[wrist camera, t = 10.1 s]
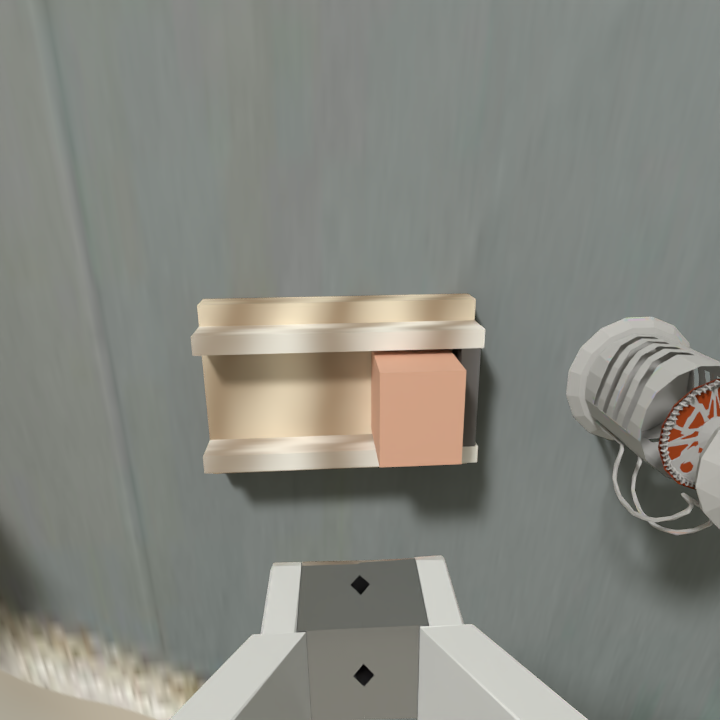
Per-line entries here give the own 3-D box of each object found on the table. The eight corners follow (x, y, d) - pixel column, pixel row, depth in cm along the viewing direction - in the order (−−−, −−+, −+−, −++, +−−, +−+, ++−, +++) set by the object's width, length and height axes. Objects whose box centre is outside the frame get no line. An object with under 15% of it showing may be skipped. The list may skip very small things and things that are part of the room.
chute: (467, 293, 39) (486, 307, 34) (459, 450, 42) (475, 480, 38) (203, 299, 37) (188, 313, 33) (218, 460, 41) (206, 492, 37)
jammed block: (445, 344, 37) (466, 370, 32) (442, 426, 39) (461, 464, 34) (371, 346, 37) (380, 373, 32) (371, 429, 39) (379, 467, 34)
